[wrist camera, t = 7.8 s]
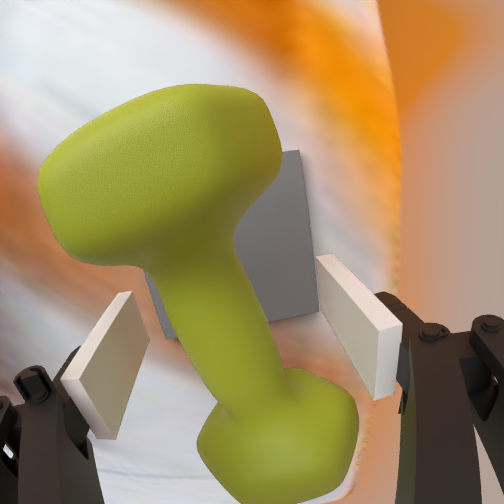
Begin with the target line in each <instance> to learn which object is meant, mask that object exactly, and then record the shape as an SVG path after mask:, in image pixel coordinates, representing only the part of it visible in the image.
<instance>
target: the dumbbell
mask: <svg viewBox="0 0 504 504" xmlns="http://www.w3.org/2000/svg"><path fill="white" fill-rule="evenodd" d="M281 166H282V149H281V143H280V139H279V136H278V133H277V130H276V127H275V124H274V122H273V119H272V116H271V114H270V111H269V109H268V107H267V105H266V104H265V102H264V100H263V99H262V98H261V97H260V96H258V95H257V94H256V93H254V92H251V91H249V90H247V89H244V88H238V87H233V86H222V85H209V84H186V85H177V86H172V87H167V88H163V89H160V90H156V91H153V92H150V93H148V94H145V95H142V96H140V97H137V98H135V99H133V100H131V101H128V102H126V103H124V104H122V105H120V106H118V107H116V108H114V109H112V110H110V111H108V112H106V113H104V114H102V115H101V116H99V117H97V118H95V119H94V120H92V121H90V122H89V123H87V124H85V125H84V126H82V127H81V128H79V129H78V130H76V131H75V132H74V133H72V134H71V135H70V136H68V137H67V138H66V139H65V140H64V141H63V142H61V143H60V144H59V145H58V146H57V147H56V148H55V149H54V150H53V151H52V153H51V154H50V155H49V156H48V157H47V159H46V160H45V162H44V163H43V165H42V167H41V170H40V172H39V175H38V184H37V189H38V194H39V198H40V201H41V204H42V207H43V209H44V212H45V214H46V217H47V220H48V222H49V224H50V227H51V229H52V231H53V233H54V235H55V237H56V239H57V240H58V242H59V243H60V245H61V246H62V248H63V249H64V250H65V251H66V252H67V253H68V254H69V255H70V256H71V257H73V258H75V259H77V260H79V261H81V262H84V263H89V264H94V265H101V266H116V265H131V266H136V267H140V268H141V269H143V270H144V271H146V272H147V274H148V275H149V276H150V277H151V278H152V280H153V282H154V283H155V285H156V287H157V289H158V292H159V294H160V297H161V300H162V302H163V305H164V308H165V311H166V313H167V316H168V318H169V321H170V323H171V325H172V327H173V329H174V331H175V333H176V335H177V337H178V339H179V341H180V342H181V344H182V346H183V348H184V350H185V352H186V353H187V355H188V357H189V359H190V360H191V362H192V364H193V365H194V367H195V369H196V370H197V372H198V374H199V375H200V377H201V379H202V380H203V382H204V383H205V385H206V386H207V388H208V389H209V391H210V392H211V393H212V395H213V396H214V397H215V398H216V400H217V401H218V403H217V405H216V406H215V407H214V409H213V410H212V412H211V413H210V415H209V416H208V418H207V420H206V422H205V424H204V425H203V427H202V429H201V431H200V433H199V436H198V438H197V450H198V453H199V455H200V457H201V459H202V460H203V462H204V463H205V465H206V466H207V468H208V469H209V470H210V472H211V473H212V474H213V475H214V477H215V478H216V479H217V480H218V481H219V483H220V484H221V485H222V486H223V487H224V488H225V489H226V490H227V491H228V492H229V493H230V494H231V495H232V496H233V497H234V498H235V499H236V500H237V501H238V502H240V503H241V504H297V503H301V502H304V501H308V500H311V499H314V498H317V497H320V496H322V495H325V494H327V493H329V492H331V491H333V490H334V489H336V488H337V487H338V486H340V484H341V483H342V482H343V480H344V478H345V476H346V474H347V472H348V469H349V466H350V464H351V460H352V457H353V454H354V450H355V446H356V442H357V437H358V432H359V416H358V411H357V407H356V403H355V401H354V399H353V398H352V396H351V395H350V394H349V393H348V392H347V391H346V390H344V389H343V388H341V387H340V386H338V385H336V384H334V383H333V382H331V381H329V380H327V379H325V378H323V377H321V376H318V375H316V374H314V373H312V372H309V371H307V370H304V369H301V368H287V369H284V368H283V365H282V361H281V358H280V355H279V352H278V349H277V346H276V343H275V340H274V337H273V334H272V331H271V328H270V325H269V323H268V320H267V318H266V316H265V313H264V311H263V309H262V306H261V304H260V302H259V300H258V298H257V295H256V293H255V291H254V289H253V287H252V284H251V282H250V280H249V278H248V276H247V274H246V272H245V271H244V269H243V267H242V265H241V263H240V261H239V259H238V257H237V254H236V252H235V248H234V233H235V229H236V227H237V225H238V222H239V220H240V219H241V217H242V216H243V215H244V213H245V212H246V211H247V210H248V208H249V207H250V206H251V205H252V204H253V203H254V202H255V201H256V200H257V199H258V198H259V197H260V196H261V195H262V194H263V193H264V192H265V191H266V190H267V189H268V188H269V187H270V186H271V185H272V183H273V182H274V181H275V179H276V178H277V177H278V175H279V172H280V169H281Z"/></svg>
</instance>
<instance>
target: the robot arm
mask: <svg viewBox="0 0 504 504" xmlns="http://www.w3.org/2000/svg"><path fill="white" fill-rule="evenodd" d="M316 265H317V275H318V285H319V296H320V307H321V311H322V313H323V314H324V316H325V318H326V319H327V321H328V323H329V324H330V326H331V328H332V329H333V331H334V333H335V334H336V336H337V338H338V340H339V341H340V343H341V345H342V346H343V348H344V350H345V351H346V353H347V355H348V357H349V358H350V360H351V362H352V363H353V365H354V367H355V369H356V370H357V372H358V374H359V376H360V377H361V379H362V381H363V383H364V384H365V386H366V388H367V390H368V391H369V393H370V395H371V397H372V398H373V400H374V401H375V400H378V399H381V398H384V397H386V396H389V395H392V394H395V389H396V382H397V381H398V383H399V384H400V386H401V387H402V389H403V390H402V396H401V401H400V407H399V412H398V413H399V414H401V435H400V438H401V439H400V455H399V469H398V481H397V491H396V499H395V504H482V496H481V482H480V471H479V460H478V452H477V446H476V438H475V432H474V426H475V428H476V430H477V432H478V435H479V437H480V439H481V441H482V443H483V446H484V448H485V450H486V452H487V454H488V457H489V459H490V461H491V464H492V466H493V469H494V471H495V473H496V476H497V478H498V481H499V483H500V486H501V489H502V491H503V494H504V320H503V319H502V318H500V317H497V316H495V315H481V316H479V317H477V318H475V319H474V321H473V323H472V328H471V331H467V332H460V333H450V331H449V330H448V328H446V327H445V326H443V325H440V324H437V323H424V322H423V321H422V320H421V319H420V318H419V317H418V316H417V315H415V314H414V313H413V312H412V311H411V310H410V309H409V308H407V306H406V305H405V304H403V303H402V302H401V301H400V300H399V299H398V298H397V297H396V296H394V295H392V294H389V293H387V292H380V293H376V294H373V293H372V292H371V291H370V290H369V289H368V288H367V287H366V286H365V285H364V284H362V283H361V282H360V281H359V280H358V279H357V278H356V277H355V276H354V275H353V274H352V273H351V272H350V271H349V270H348V269H347V268H346V267H345V266H344V265H343V264H342V263H341V262H340V261H339V260H338V259H337V258H336V257H335V256H333V255H332V254H327V255H322V256H316ZM149 341H150V339H149V337H148V334H147V331H146V328H145V326H144V323H143V320H142V317H141V314H140V311H139V308H138V305H137V302H136V299H135V296H134V293H133V291H127V292H121V293H118V294H117V296H116V297H115V298H114V300H113V301H112V303H111V304H110V305H109V307H108V308H107V310H106V311H105V312H104V314H103V315H102V317H101V318H100V319H99V321H98V322H97V324H96V325H95V327H94V328H93V330H92V331H91V333H90V334H89V335H88V337H87V338H86V340H85V341H84V343H83V344H82V346H79V347H78V348H76V349H75V350H74V351H73V352H72V353H71V354H70V355H69V357H68V358H67V360H66V362H65V363H64V364H63V366H62V368H61V369H60V370H59V372H58V373H57V375H56V376H55V378H54V380H53V381H51V379H50V377H49V376H48V374H47V372H46V370H45V368H44V367H42V366H38V365H36V366H31V367H28V368H26V369H24V370H23V371H21V372H20V373H19V374H18V375H17V376H16V377H15V379H14V381H13V382H14V384H15V386H16V387H17V389H18V391H19V392H20V394H21V395H22V397H23V399H24V400H25V404H22V405H17V406H13V404H12V402H11V401H10V399H9V398H8V397H7V396H0V504H105V503H104V499H103V495H102V491H101V487H100V483H99V478H98V473H97V469H96V464H95V459H94V453H93V448H92V444H91V441H90V440H89V438H88V437H87V433H88V431H89V428H90V429H91V430H92V432H93V433H94V435H95V436H96V438H97V439H116V437H117V434H118V431H119V428H120V425H121V421H122V418H123V415H124V412H125V409H126V406H127V403H128V400H129V397H130V394H131V391H132V388H133V385H134V382H135V380H136V377H137V374H138V371H139V368H140V365H141V363H142V360H143V357H144V354H145V351H146V349H147V346H148V343H149ZM494 377H495V378H496V379H497V381H496V380H495V378H494ZM497 382H498V383H497ZM473 424H474V426H473ZM5 444H6V445H7V447H8V448H9V449H10V450H11V451H12V453H13V457H12V459H11V458H9V456H8V455H7V454H6V453H5V452H4V451H3V448H4V445H5Z"/></svg>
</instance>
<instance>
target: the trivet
mask: <svg viewBox="0 0 504 504" xmlns="http://www.w3.org/2000/svg"><path fill="white" fill-rule="evenodd" d="M234 248H235V252H236V254H237V257H238V259H239V261H240V263H241V265H242V267H243V269H244V271H245V272H246V274H247V276H248V278H249V280H250V282H251V284H252V287H253V289H254V291H255V293H256V295H257V298H258V300H259V302H260V304H261V306H262V309H263V311H264V313H265V316H266V318H267V320H268V322H272V321H277V320H282V319H287V318H292V317H297V316H301V315H306V314H310V313H315V312H319V305H318V294H317V283H316V274H315V264H314V255H313V246H312V238H311V230H310V222H309V214H308V207H307V199H306V192H305V185H304V178H303V172H302V165H301V159H300V152H299V150H293V151H286V152H282V166H281V169H280V172H279V175H278V177H277V178H276V179H275V181H274V182H273V183H272V185H271V186H270V187H269V188H268V189H267V190H266V191H265V192H264V193H263V194H262V195H261V196H260V197H259V198H258V199H257V200H256V201H255V202H254V203H253V204H252V205H251V206H250V207H249V208H248V210H247V211H246V212H245V213H244V215H243V216H242V217H241V219H240V220H239V222H238V225H237V227H236V229H235V233H234ZM144 273H145V276H146V280H147V283H148V287H149V290H150V293H151V296H152V300H153V303H154V306H155V309H156V312H157V315H158V318H159V321H160V324H161V327H162V330H163V333H164V336H165V339H173V338H178V337H177V335H176V333H175V331H174V329H173V327H172V325H171V323H170V321H169V318H168V316H167V313H166V311H165V308H164V305H163V302H162V300H161V297H160V294H159V292H158V289H157V287H156V285H155V283H154V282H153V280H152V278H151V277H150V276H149V275H148V274H147V272H146V271H144Z"/></svg>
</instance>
